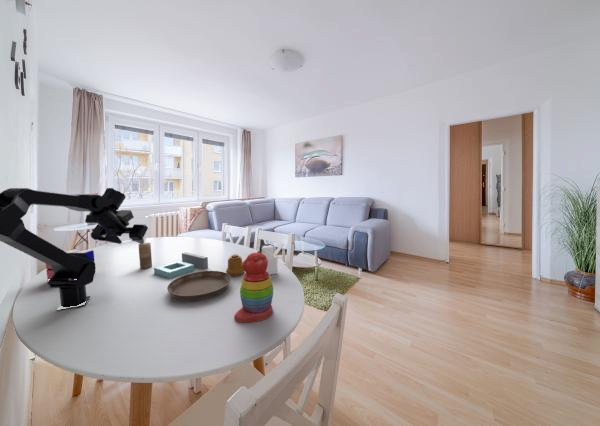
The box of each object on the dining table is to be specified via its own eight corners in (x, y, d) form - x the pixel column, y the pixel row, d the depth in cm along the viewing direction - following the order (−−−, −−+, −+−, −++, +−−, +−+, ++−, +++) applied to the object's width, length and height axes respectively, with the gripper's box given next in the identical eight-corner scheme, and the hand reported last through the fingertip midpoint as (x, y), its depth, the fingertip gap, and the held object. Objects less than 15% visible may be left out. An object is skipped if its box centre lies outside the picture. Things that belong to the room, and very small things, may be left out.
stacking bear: (245, 302, 72) (244, 247, 70) (277, 304, 71) (276, 248, 69) (231, 322, 62) (229, 257, 60) (268, 324, 60) (267, 259, 59)
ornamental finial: (230, 269, 101) (247, 270, 100) (222, 276, 94) (240, 277, 93) (230, 252, 100) (246, 253, 99) (222, 257, 93) (239, 258, 92)
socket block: (169, 278, 91) (169, 272, 90) (154, 273, 96) (153, 267, 96) (194, 270, 100) (194, 264, 100) (179, 265, 106) (178, 260, 105)
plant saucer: (210, 307, 70) (209, 297, 69) (152, 300, 74) (151, 290, 73) (240, 281, 90) (240, 272, 89) (194, 276, 94) (193, 269, 93)
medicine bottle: (256, 270, 100) (256, 244, 99) (272, 268, 103) (272, 242, 102) (261, 276, 94) (260, 247, 92) (277, 273, 97) (277, 246, 95)
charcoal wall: (204, 269, 102) (203, 258, 101) (182, 263, 110) (181, 253, 109) (208, 267, 103) (207, 257, 103) (186, 262, 111) (185, 252, 111)
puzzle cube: (72, 282, 87) (69, 257, 86) (46, 282, 87) (43, 256, 86) (96, 273, 97) (94, 250, 96) (73, 272, 97) (71, 249, 96)
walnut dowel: (152, 268, 103) (150, 244, 102) (139, 269, 101) (138, 245, 99) (152, 265, 107) (150, 242, 106) (140, 266, 104) (138, 243, 103)
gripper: (143, 203, 88) (161, 227, 100) (94, 203, 88) (119, 227, 100) (129, 227, 81) (151, 249, 93) (76, 227, 81) (105, 249, 93)
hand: (132, 243), depth 95 cm, fingers open, 9 cm apart
